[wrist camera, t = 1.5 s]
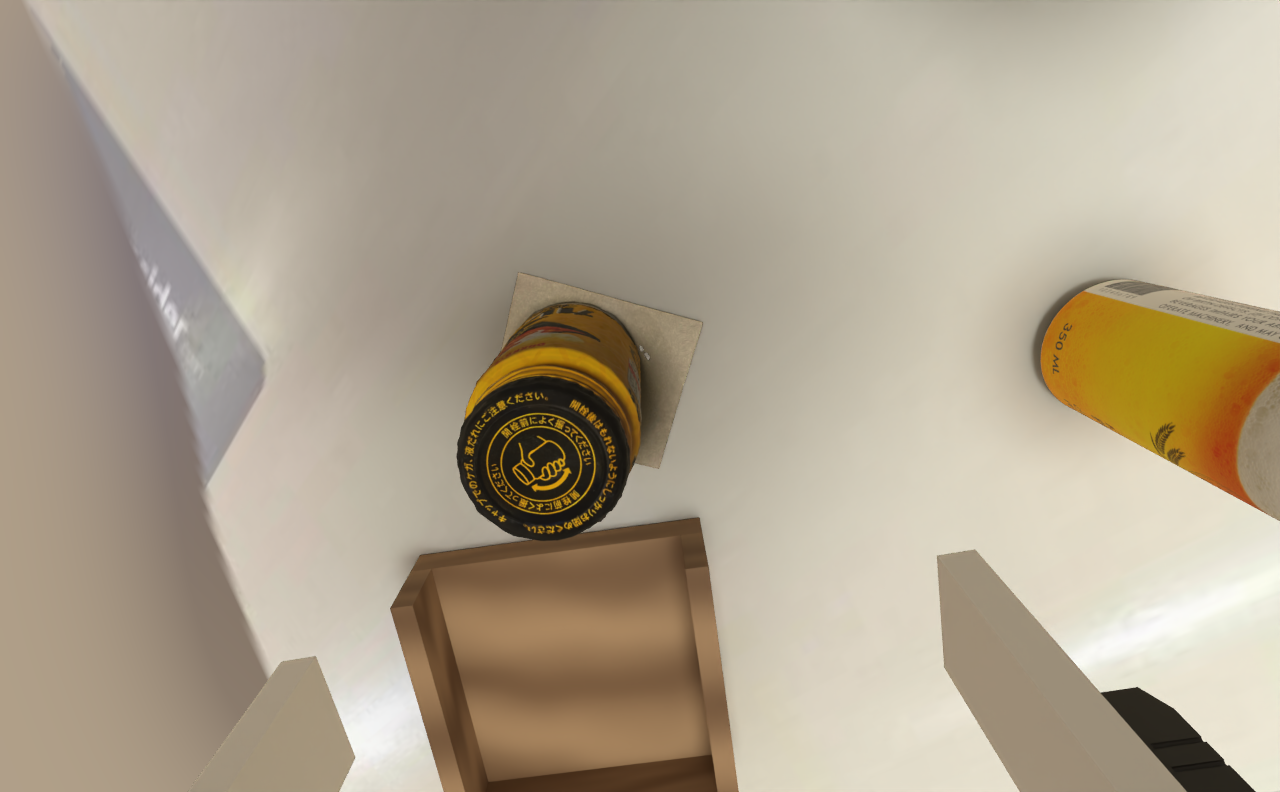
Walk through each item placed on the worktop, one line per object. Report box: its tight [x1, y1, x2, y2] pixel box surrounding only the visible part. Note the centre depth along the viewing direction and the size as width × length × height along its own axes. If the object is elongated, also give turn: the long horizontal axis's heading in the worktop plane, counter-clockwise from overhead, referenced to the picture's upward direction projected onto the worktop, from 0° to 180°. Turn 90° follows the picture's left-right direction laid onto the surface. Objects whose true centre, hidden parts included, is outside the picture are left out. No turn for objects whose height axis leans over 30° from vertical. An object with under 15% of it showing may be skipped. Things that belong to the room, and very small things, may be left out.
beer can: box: [1040, 279, 1280, 521], centre depth 25 cm, size 6×6×15 cm
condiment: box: [457, 272, 703, 541], centre depth 27 cm, size 7×8×12 cm
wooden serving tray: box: [390, 518, 739, 792], centre depth 35 cm, size 14×14×6 cm
